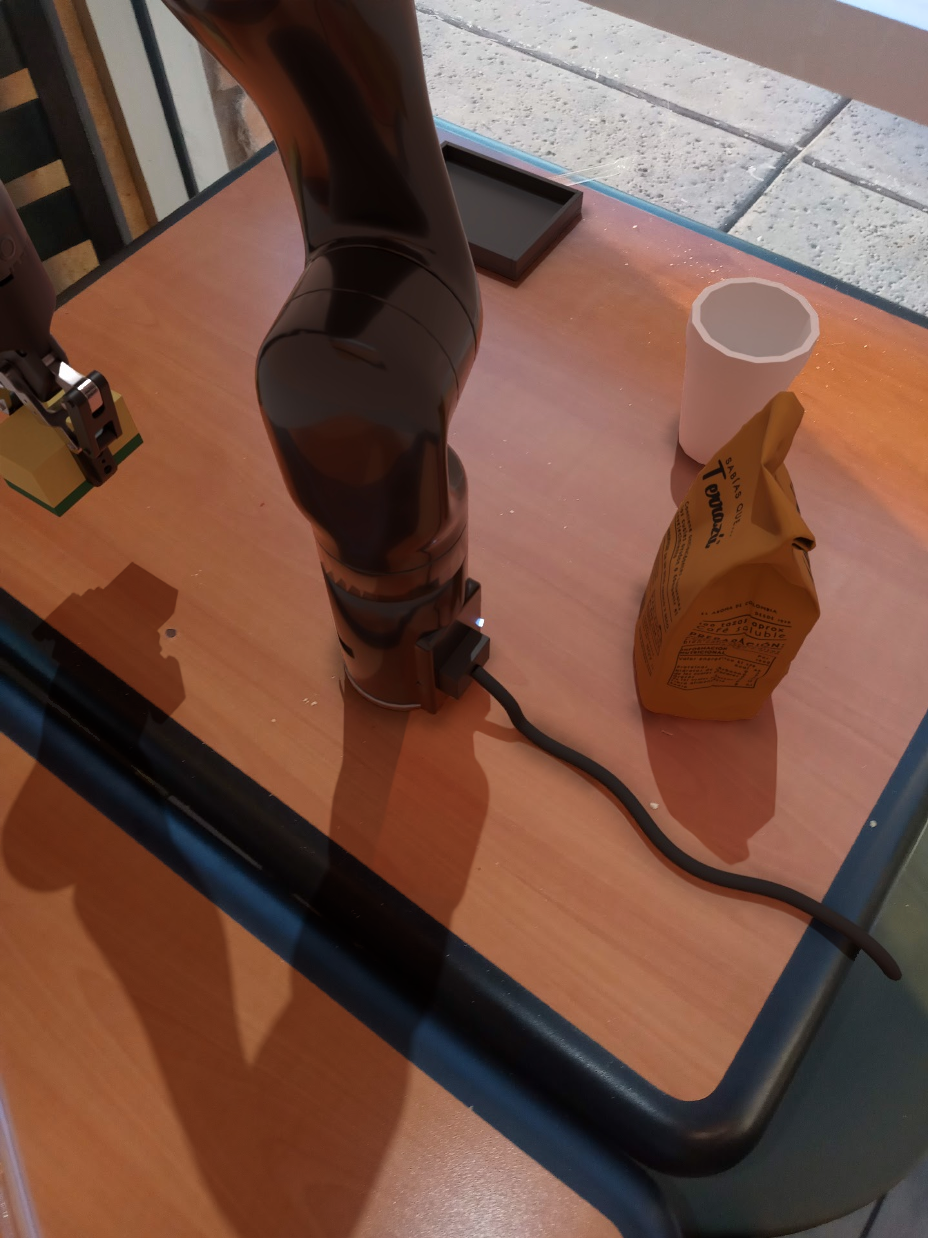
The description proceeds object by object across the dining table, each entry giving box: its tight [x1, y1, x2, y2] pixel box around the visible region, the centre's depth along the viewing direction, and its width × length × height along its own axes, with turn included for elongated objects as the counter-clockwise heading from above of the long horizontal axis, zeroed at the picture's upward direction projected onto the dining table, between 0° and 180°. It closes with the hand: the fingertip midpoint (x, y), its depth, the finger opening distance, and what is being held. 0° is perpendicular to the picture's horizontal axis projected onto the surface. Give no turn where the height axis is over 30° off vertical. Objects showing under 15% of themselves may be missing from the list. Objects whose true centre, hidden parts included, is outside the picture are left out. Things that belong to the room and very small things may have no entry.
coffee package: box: [633, 391, 821, 722], centre depth 58 cm, size 10×12×22 cm
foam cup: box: [678, 276, 821, 466], centre depth 73 cm, size 10×9×13 cm
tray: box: [440, 140, 585, 282], centre depth 94 cm, size 17×13×2 cm
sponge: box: [0, 370, 144, 518], centre depth 61 cm, size 8×5×4 cm, turn 147°
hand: (75, 459), depth 63 cm, fingers closed on sponge, 5 cm apart
